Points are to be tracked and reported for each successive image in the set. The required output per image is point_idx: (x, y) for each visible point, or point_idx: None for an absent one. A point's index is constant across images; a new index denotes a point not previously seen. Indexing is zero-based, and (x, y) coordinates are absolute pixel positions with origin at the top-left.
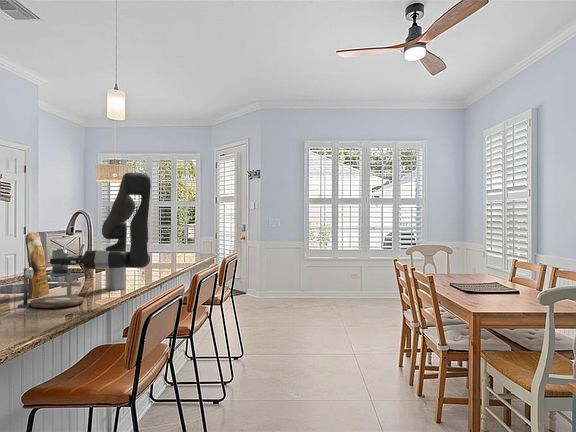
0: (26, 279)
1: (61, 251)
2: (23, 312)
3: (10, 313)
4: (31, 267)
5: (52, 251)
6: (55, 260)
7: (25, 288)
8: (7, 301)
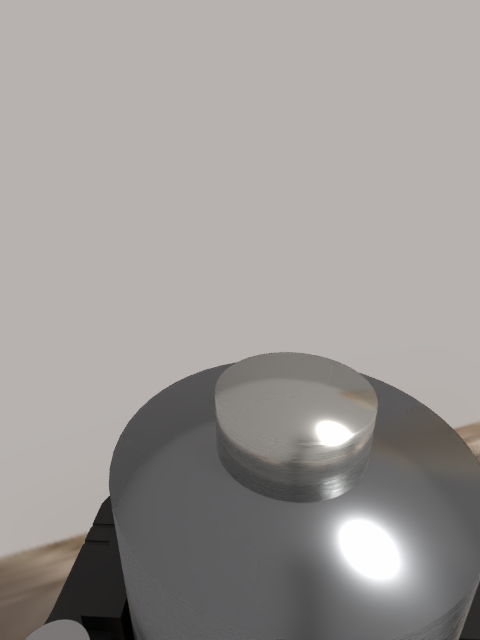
0: None
1: (115, 508)
2: None
3: (63, 562)
4: None
5: (213, 376)
6: (85, 555)
7: None
8: None
